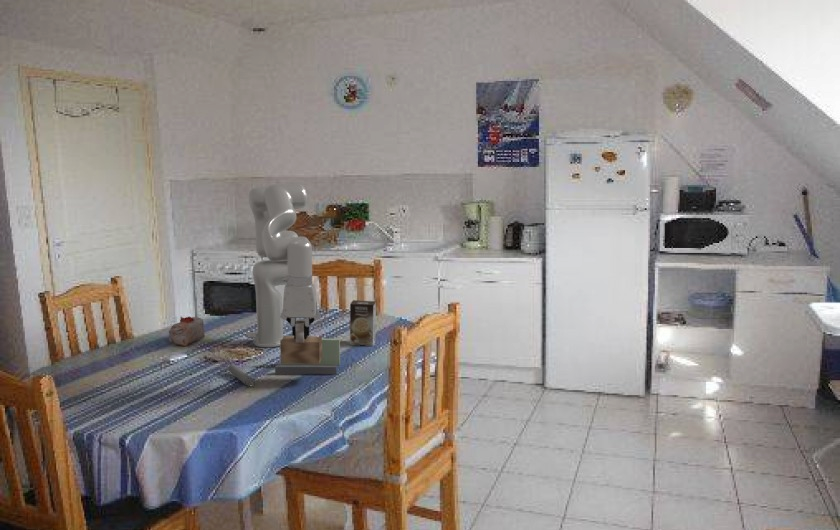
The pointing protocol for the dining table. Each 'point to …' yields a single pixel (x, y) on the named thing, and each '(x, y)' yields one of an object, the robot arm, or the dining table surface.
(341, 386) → the dining table surface
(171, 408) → the dining table surface
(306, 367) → the cleat board
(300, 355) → the walnut mallet
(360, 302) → the coffee box
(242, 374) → the kitchen whisk
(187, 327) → the food item
